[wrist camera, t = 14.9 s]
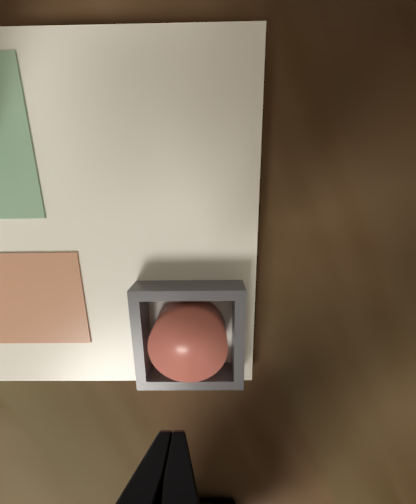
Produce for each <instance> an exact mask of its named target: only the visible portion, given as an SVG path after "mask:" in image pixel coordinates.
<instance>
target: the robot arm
mask: <svg viewBox="0 0 416 504" xmlns="http://www.w3.org/2000/svg"><path fill="white" fill-rule="evenodd" d="M116 504H236V502H235V501H234V500H232V499H199V497H198V492H197V487H196V482H195V477H194V473H193V468H192V463H191V458H190V453H189V448H188V444H187V439H186V434H185V431H183V430H175V431H173V432H172V431H171V430H161V431H160V432H159V433H158V435H157V436H156V438H155V439H154V441H153V443H152V444H151V446H150V448H149V449H148V451H147V453H146V454H145V456H144V458H143V459H142V461H141V463H140V464H139V466H138V467H137V469H136V471H135V472H134V474H133V476H132V477H131V479H130V481H129V482H128V484H127V486H126V487H125V489H124V491H123V492H122V494H121V496H120V497H119V499H118V500H117V502H116Z"/></svg>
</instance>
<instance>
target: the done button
mask: <svg viewBox="0 0 416 504" xmlns="http://www.w3.org/2000/svg"><path fill="white" fill-rule="evenodd" d="M148 354H149V357H150V360H151V362H152V363H153V365H154V366H155V368H156V369H157V370H158V371H159V372H160V373H162V374H163V375H164V376H166V377H168V378H170V379H172V380H175V381H179V382H188V383H190V382H199V381H202V380H205V379H207V378H209V377H211V376H213V375H214V374H216V373H217V372H218V371H219V370H220V369H221V367H222V366H223V364H224V363H225V360H226V358H227V354H228V342H227V334H226V326H225V320H224V318H223V315H222V313H221V312H220V310H219V309H218V308H217V307H216V306H215V305H214V304H213V303H211V302H210V301H171V302H169V303H168V304H167V305H165V306H164V307H163V309H162V310H161V311H160V313H159V315H158V317H157V320H156V322H155V324H154V326H153V329H152V331H151V333H150V335H149V339H148Z"/></svg>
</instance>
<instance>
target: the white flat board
mask: <svg viewBox="0 0 416 504" xmlns="http://www.w3.org/2000/svg"><path fill="white" fill-rule="evenodd" d="M265 41H266V21H234V22H187V23H140V24H94V25H47V26H0V381H127V380H136V385H137V390H244V380H252V362H253V337H254V313H255V288H256V263H257V239H258V214H259V189H260V165H261V140H262V115H263V91H264V66H265ZM171 301H210V302H211V303H213V304H214V305H215V306H216V307H217V308H218V309H219V310H220V312H221V313H222V315H223V318H224V320H225V326H226V334H227V342H228V354H227V358H226V360H225V363H224V364H223V366H222V367H221V369H220V370H219V371H218V372H217V373H216V374H214V375H213V376H211V377H209V378H207V379H205V380H202V381H199V382H190V383H188V382H179V381H175V380H172V379H170V378H168V377H166V376H164V375H163V374H162V373H160V372H159V371H158V370H157V369H156V368H155V366H154V365H153V363H152V362H151V360H150V357H149V354H148V339H149V335H150V333H151V331H152V329H153V326H154V324H155V322H156V320H157V317H158V315H159V313H160V311H161V310H162V309H163V307H164V306H165V305H167V304H168V303H169V302H171Z"/></svg>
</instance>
